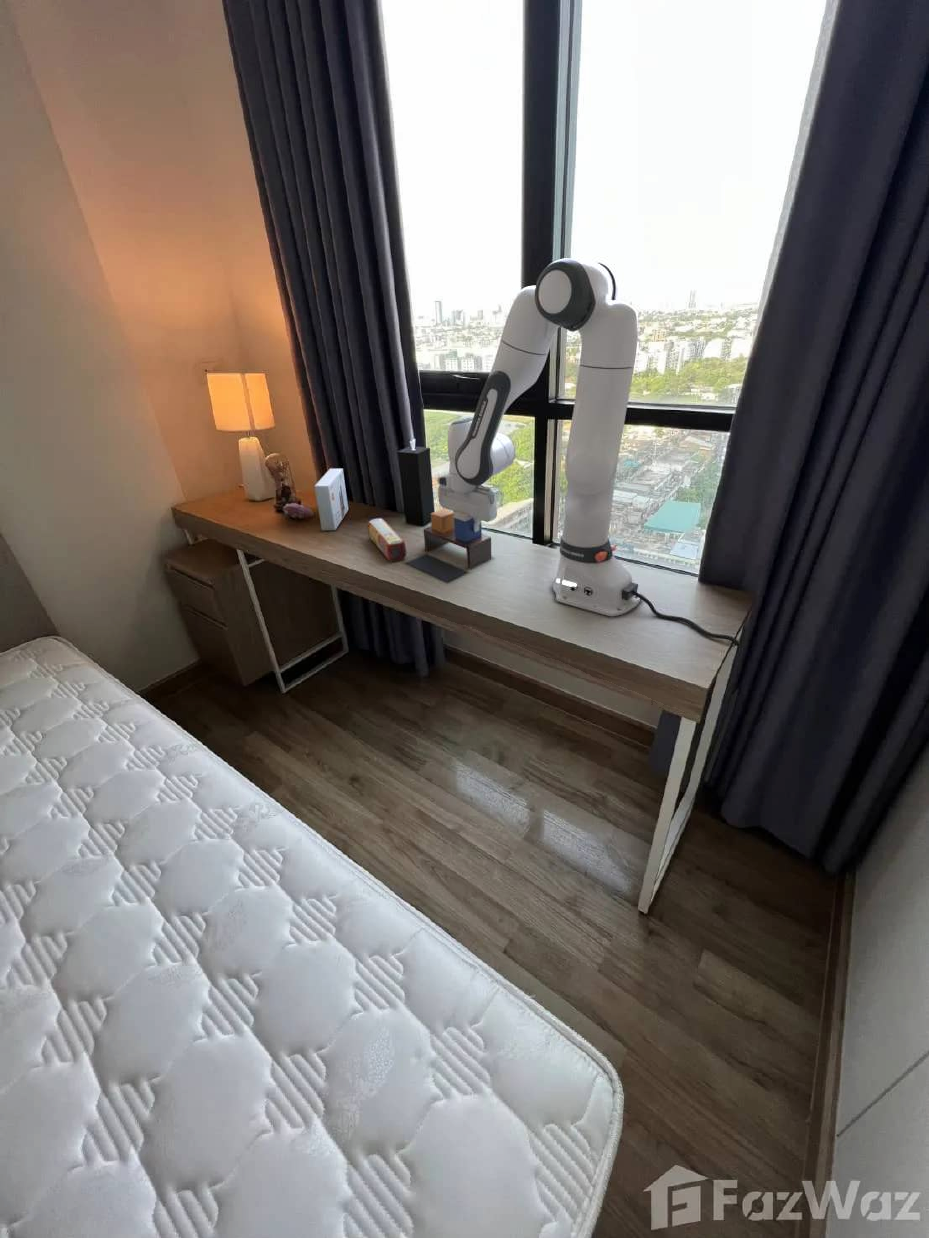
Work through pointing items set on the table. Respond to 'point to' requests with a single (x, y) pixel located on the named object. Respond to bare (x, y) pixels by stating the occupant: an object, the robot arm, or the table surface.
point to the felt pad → (437, 568)
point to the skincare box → (331, 499)
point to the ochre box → (442, 520)
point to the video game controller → (297, 510)
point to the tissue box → (416, 484)
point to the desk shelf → (475, 548)
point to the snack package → (386, 539)
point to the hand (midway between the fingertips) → (468, 528)
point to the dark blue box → (465, 527)
